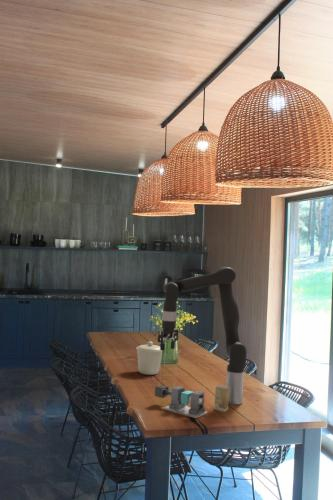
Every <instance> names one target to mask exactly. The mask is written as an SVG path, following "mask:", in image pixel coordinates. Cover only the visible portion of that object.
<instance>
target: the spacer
mask: <svg viewBox="0 0 333 500" xmlns="http://www.w3.org/2000/svg"><path fill="white" fill-rule="evenodd" d="M192 392H193V390H185V392H182V393H181V404H185V406H188V405H189V403H190V404H191V402H190V401H189V397H190V396H191V393H192Z"/></svg>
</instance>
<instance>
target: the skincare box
mask: <svg viewBox="0 0 333 500" xmlns="http://www.w3.org/2000/svg"><path fill="white" fill-rule="evenodd" d="M229 390H230V387H226V385H222V384H219V385H216V386H215V395H214V408H213V409H214V410H216V411H219V412H224V413H225V412H227V411H228V410H229V403H228V402H229Z"/></svg>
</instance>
